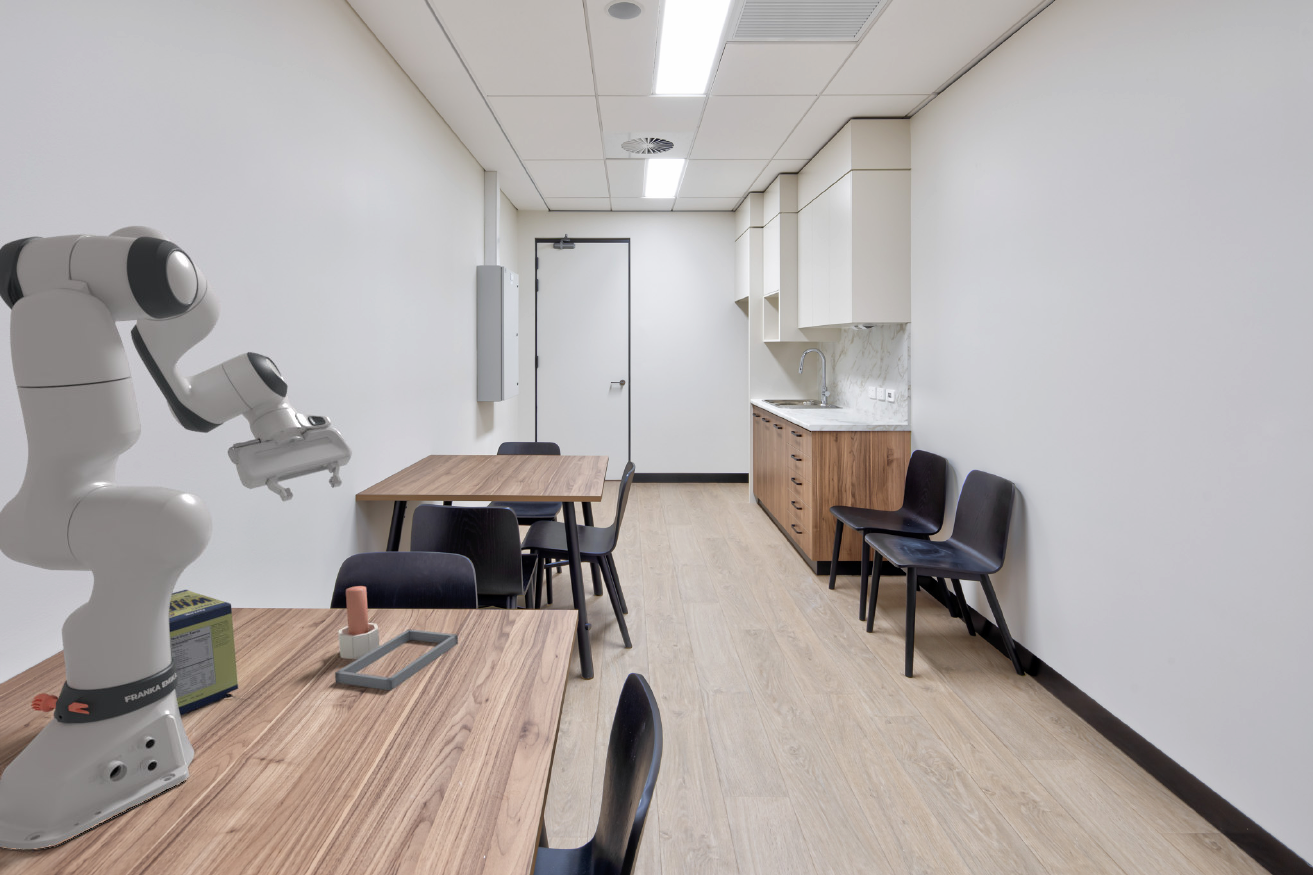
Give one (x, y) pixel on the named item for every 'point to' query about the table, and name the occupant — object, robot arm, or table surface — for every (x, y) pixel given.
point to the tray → (350, 671)
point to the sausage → (357, 610)
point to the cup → (358, 642)
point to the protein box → (201, 649)
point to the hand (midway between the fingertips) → (313, 492)
